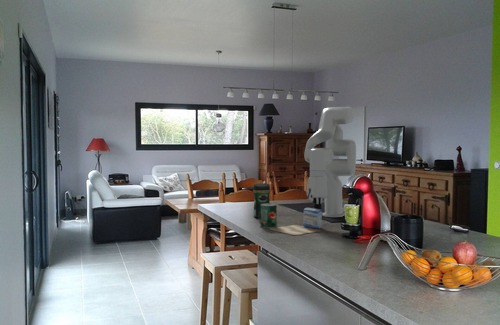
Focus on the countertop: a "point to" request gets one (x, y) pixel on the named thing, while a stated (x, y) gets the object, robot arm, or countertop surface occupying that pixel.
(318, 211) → the medicine box
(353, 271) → the countertop surface
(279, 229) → the wooden board
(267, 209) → the canned tomato
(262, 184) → the coffee jar
